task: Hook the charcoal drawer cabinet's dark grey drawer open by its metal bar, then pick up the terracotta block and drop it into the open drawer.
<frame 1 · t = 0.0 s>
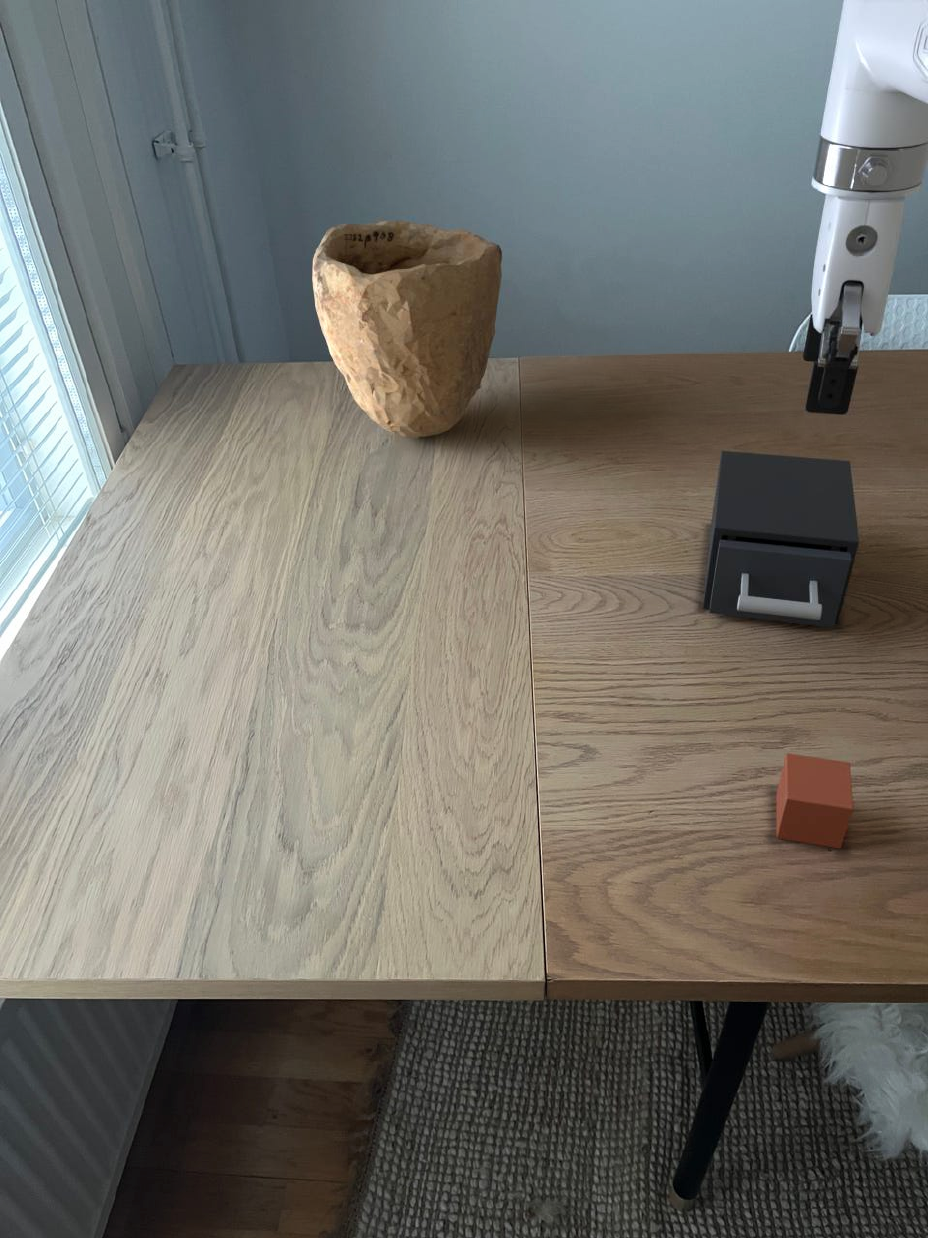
hand: (823, 385, 79), 23 cm above the table, tool pointing down, fingers open, 9 cm apart
dark grey drawer: (777, 561, 91), point 5 cm above the table, slide at 0.5 cm
block: (807, 820, 73), on the table
rough clay pot: (422, 434, 124), on the table
drawer cabinet: (769, 572, 97), on the table
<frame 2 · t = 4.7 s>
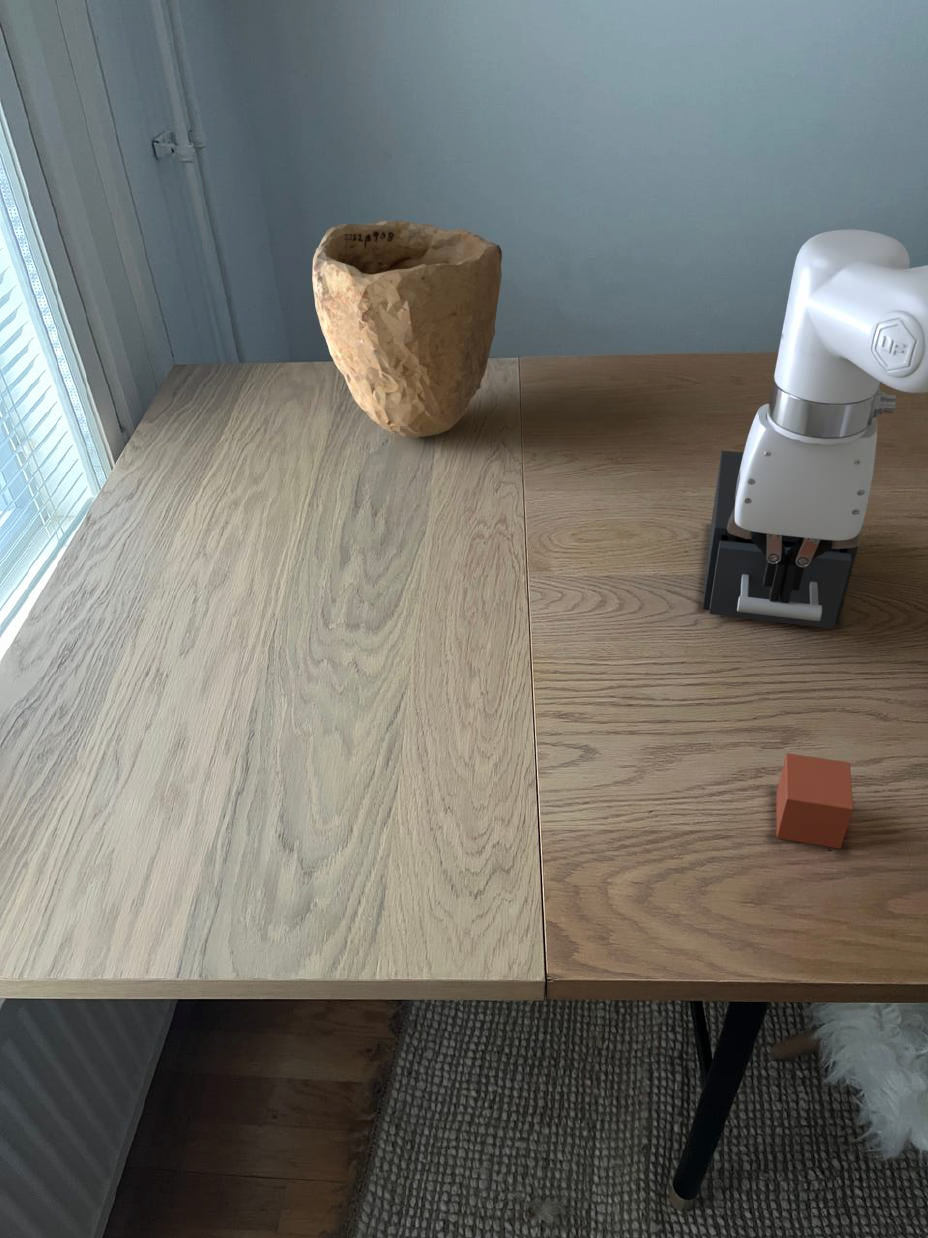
hand: (779, 592, 84), 6 cm above the table, tool pointing down, fingers closed
dark grey drawer: (777, 562, 91), point 5 cm above the table, slide at 0.7 cm, touching gripper
everything else where it was.
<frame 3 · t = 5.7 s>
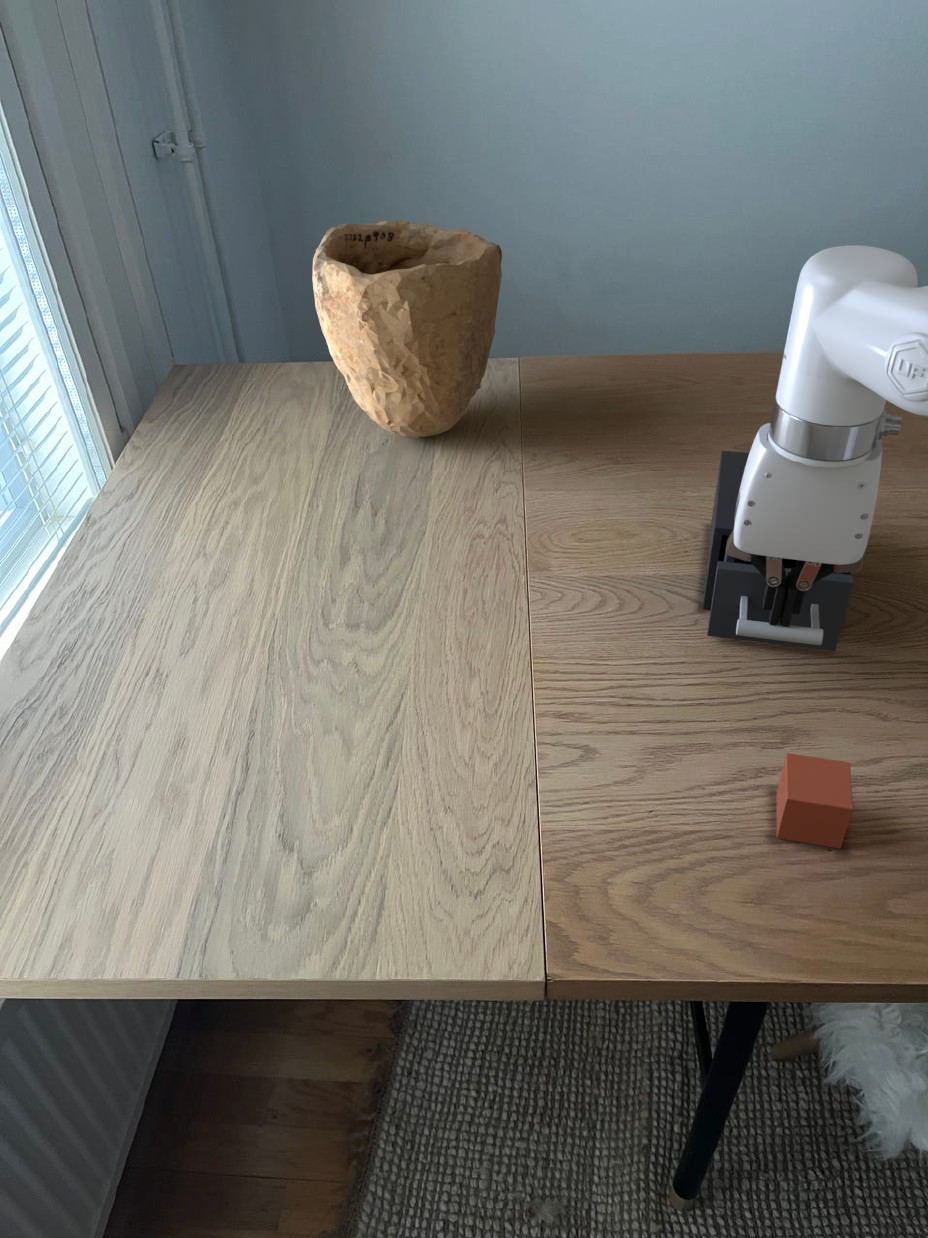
hand: (778, 615, 82), 6 cm above the table, tool pointing down, fingers closed
dark grey drawer: (777, 582, 88), point 5 cm above the table, slide at 4.0 cm, touching gripper
everything else where it was.
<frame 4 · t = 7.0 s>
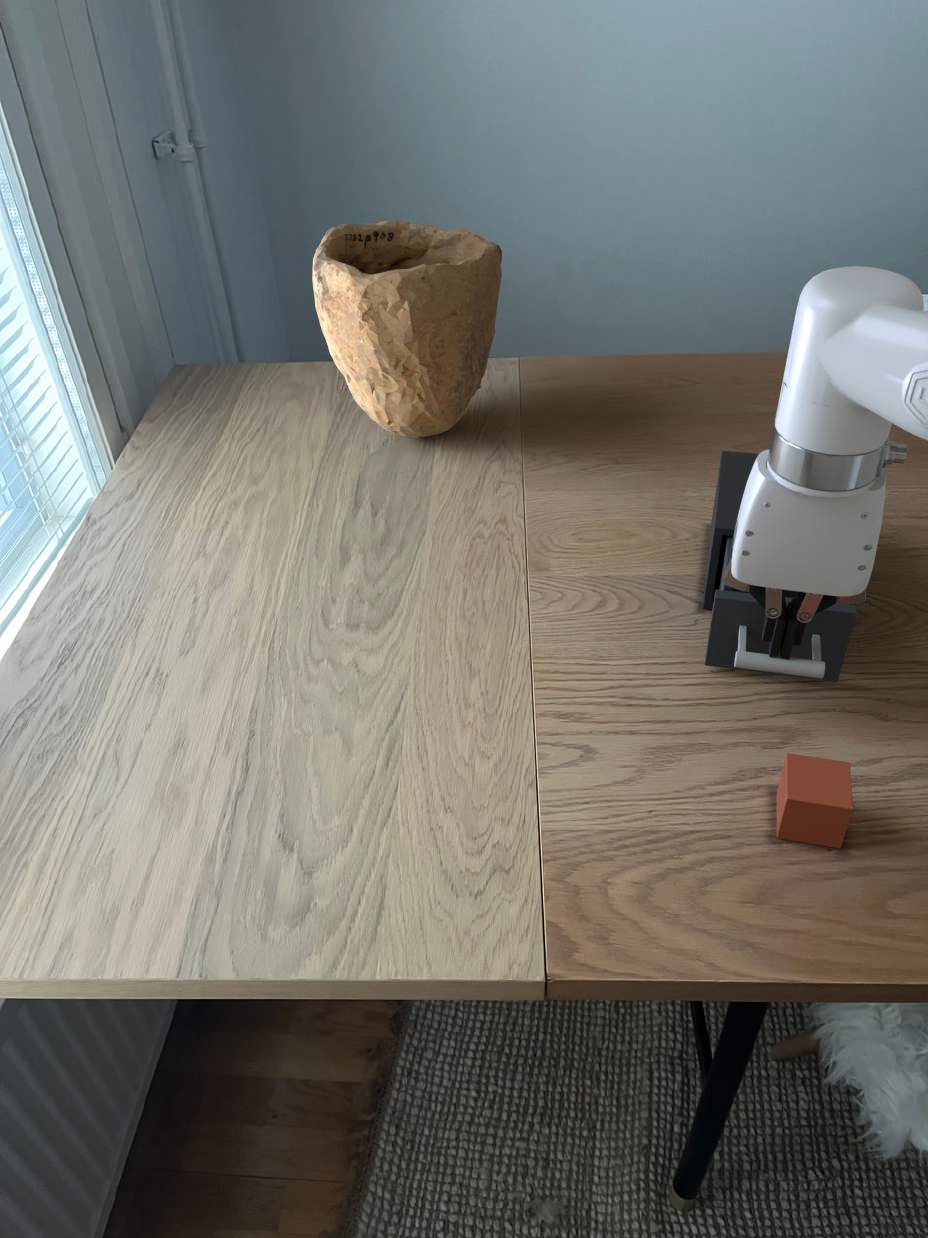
hand: (778, 647, 79), 6 cm above the table, tool pointing down, fingers closed
dark grey drawer: (777, 610, 85), point 5 cm above the table, slide at 8.2 cm, touching gripper
everything else where it was.
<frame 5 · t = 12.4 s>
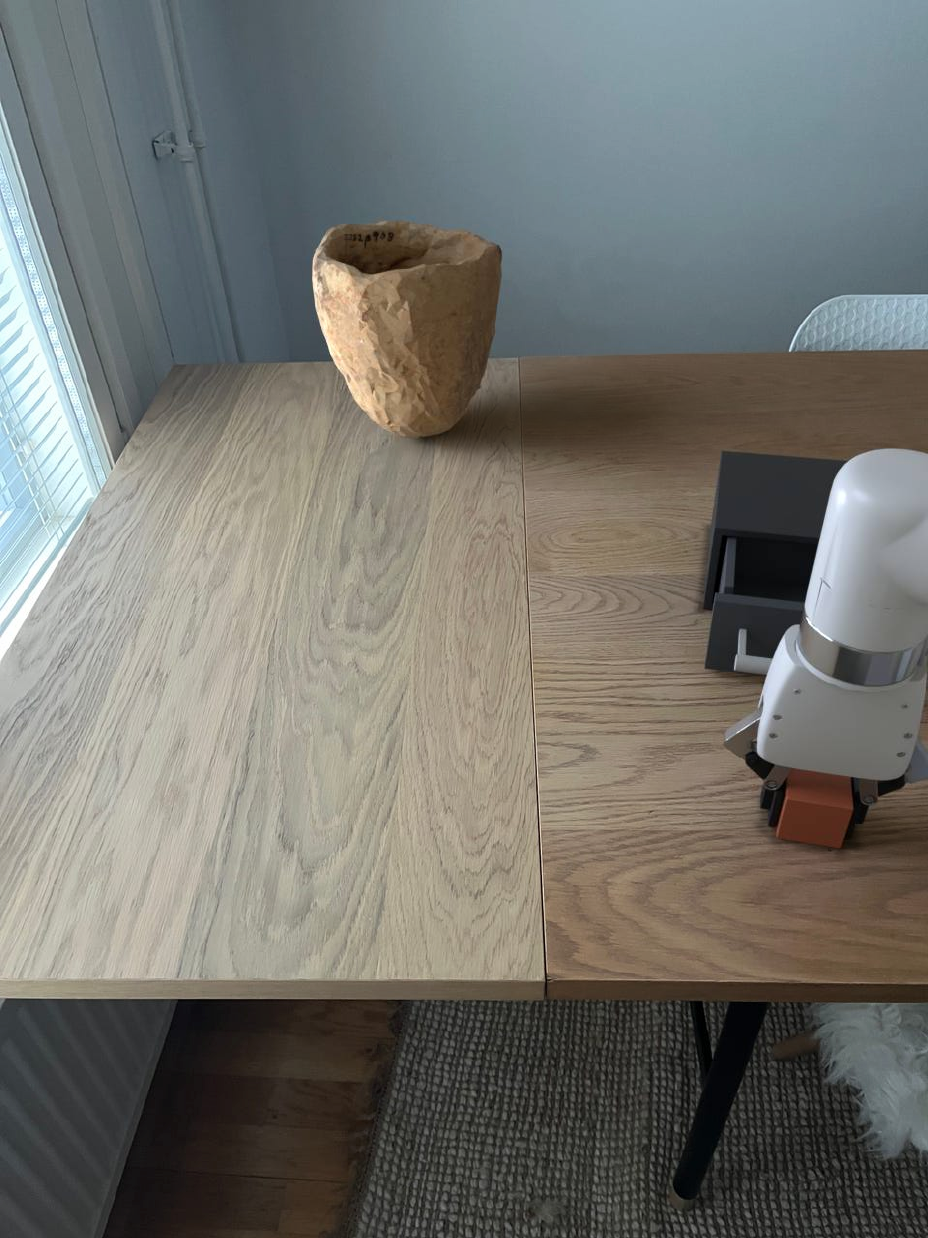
hand: (808, 816, 73), 0 cm above the table, tool pointing down, fingers closed on block, 4 cm apart
dark grey drawer: (777, 613, 85), point 5 cm above the table, slide at 8.7 cm
block: (807, 820, 73), on the table, touching gripper
everything else where it was.
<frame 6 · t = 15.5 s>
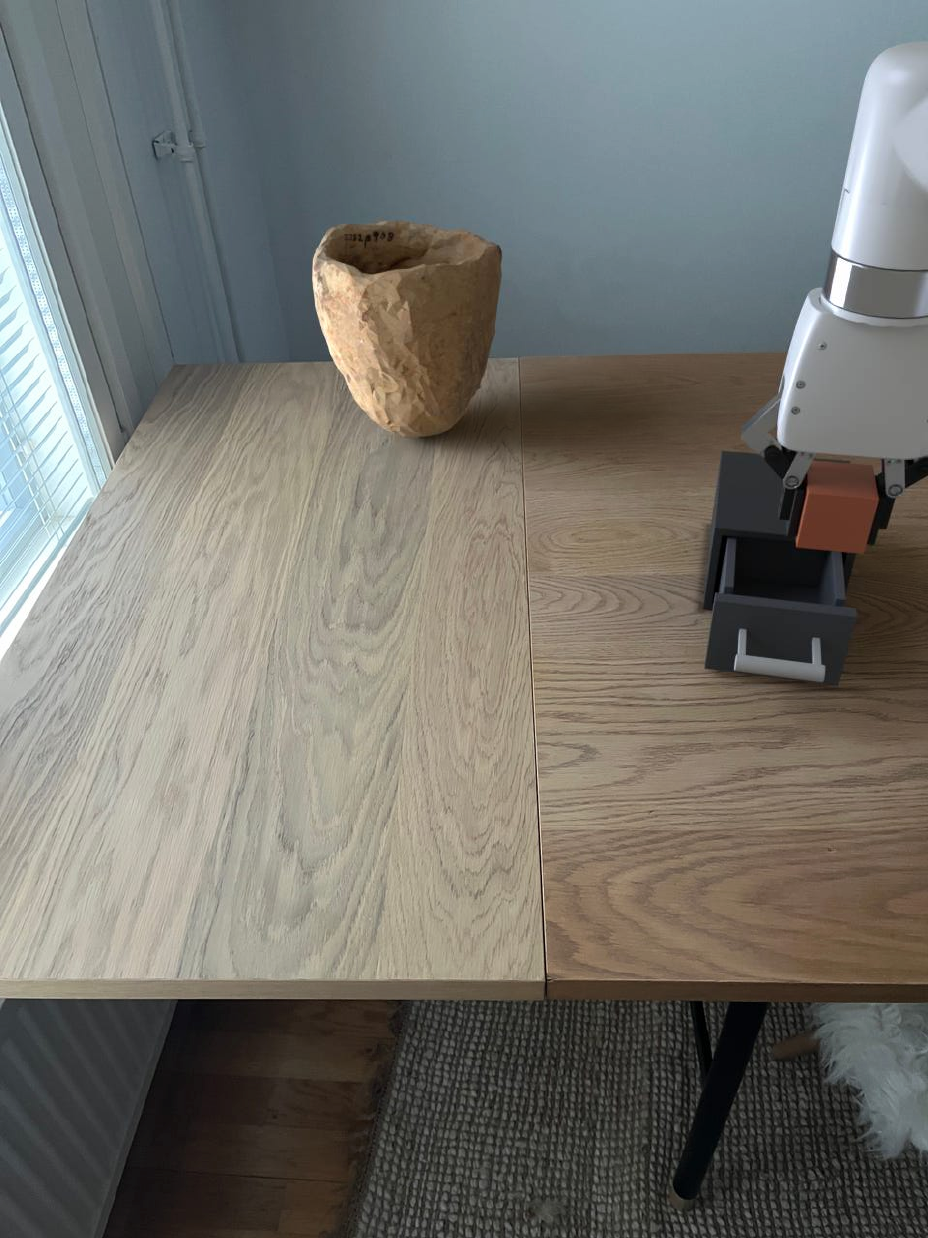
hand: (828, 528, 69), 20 cm above the table, tool pointing down, fingers closed on block, 4 cm apart
block: (827, 533, 69), point 19 cm above the table, touching gripper
everything else where it was.
when the fingers open (12 cm above the table, at t = 18.8 s): block drops 10 cm, resting on dark grey drawer.
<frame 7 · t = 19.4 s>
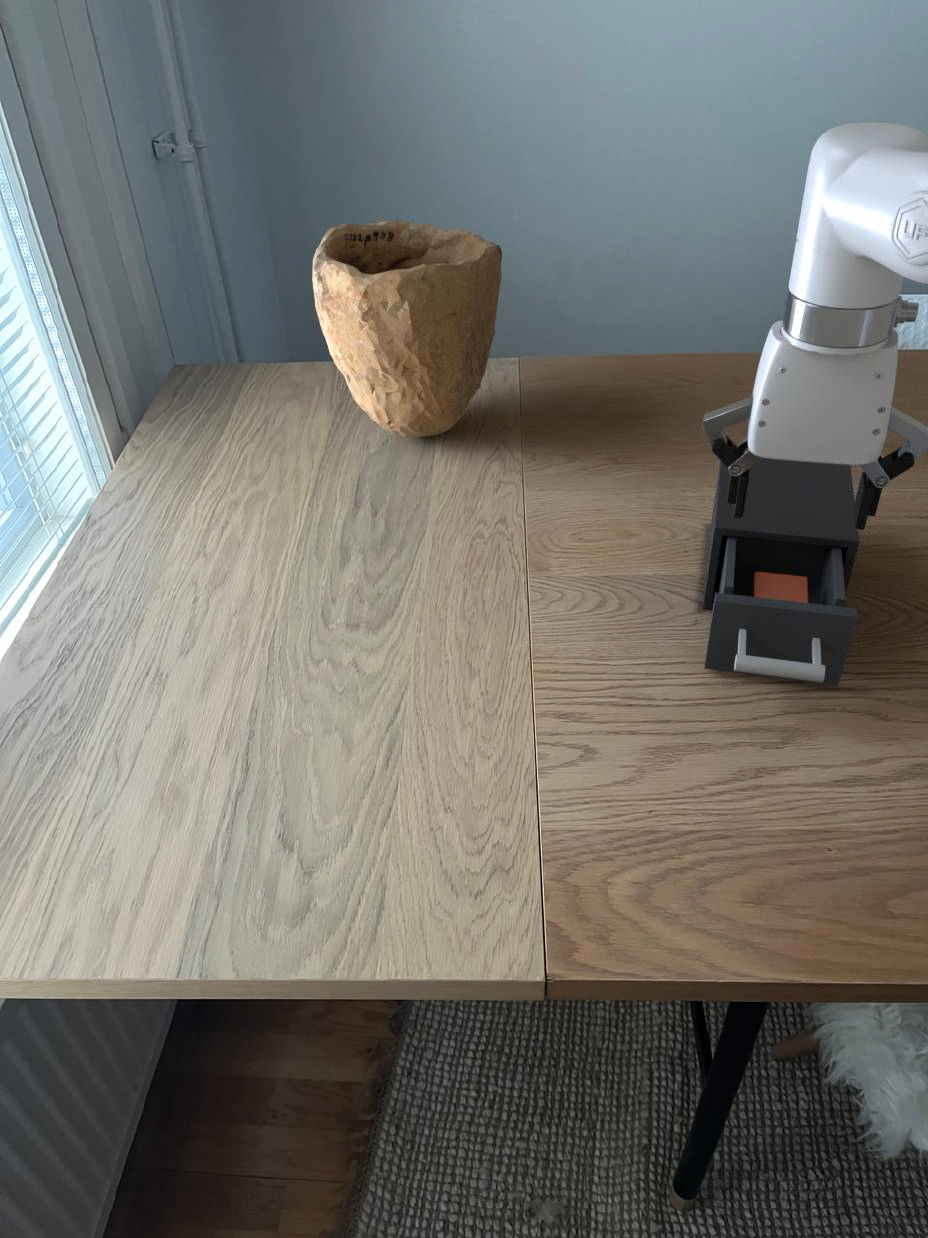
hand: (797, 515, 80), 14 cm above the table, tool pointing down, fingers open, 9 cm apart
dark grey drawer: (777, 613, 85), point 5 cm above the table, slide at 8.7 cm, touching block
block: (772, 628, 87), point 2 cm above the table, touching dark grey drawer
everything else where it was.
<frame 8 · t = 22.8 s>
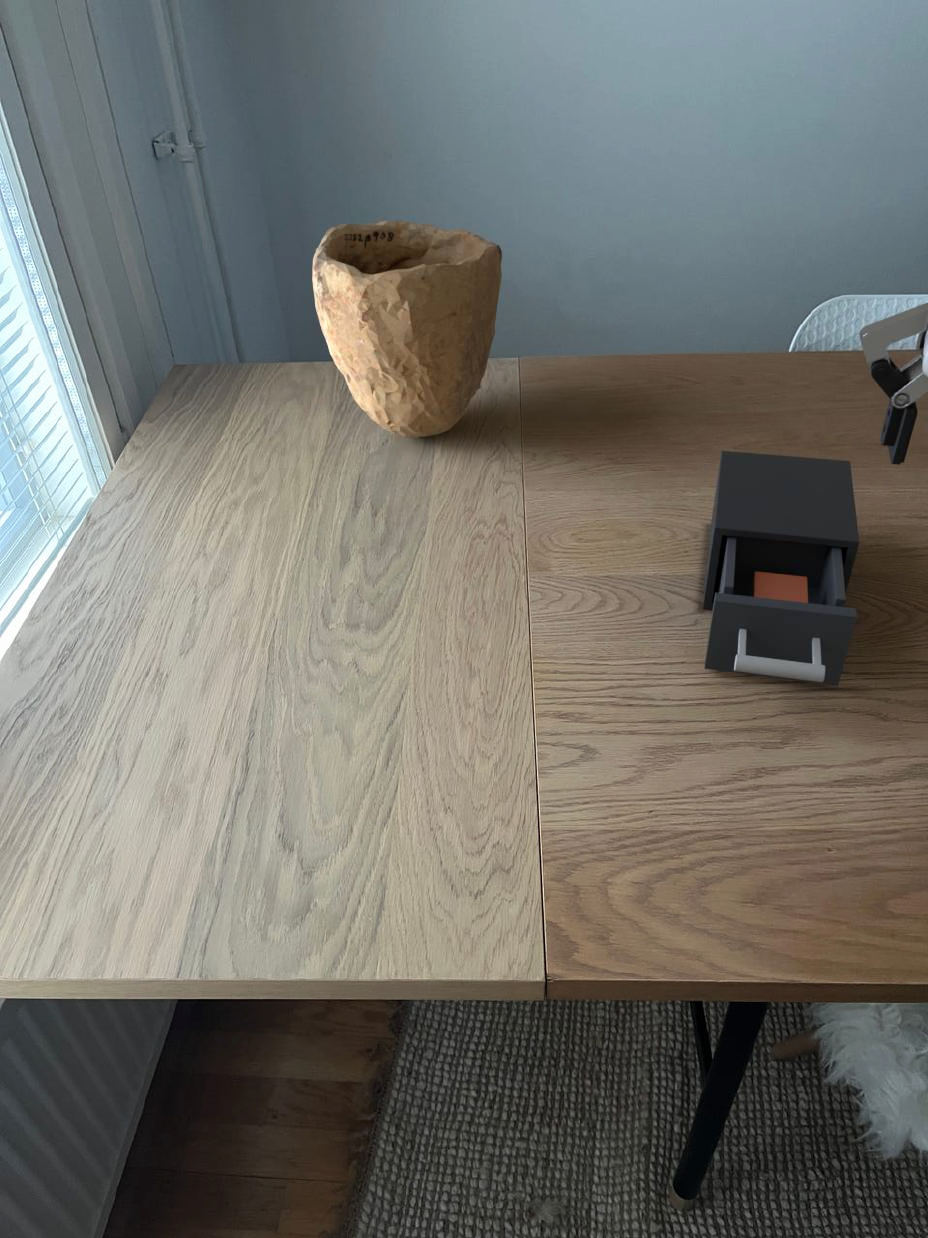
nothing on the table moved.
at the end: dark grey drawer slide at 8.7 cm; block inside the target area in the drawer cabinet (8.6 cm from its centre), point 2.0 cm above the drawer cabinet's base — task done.
